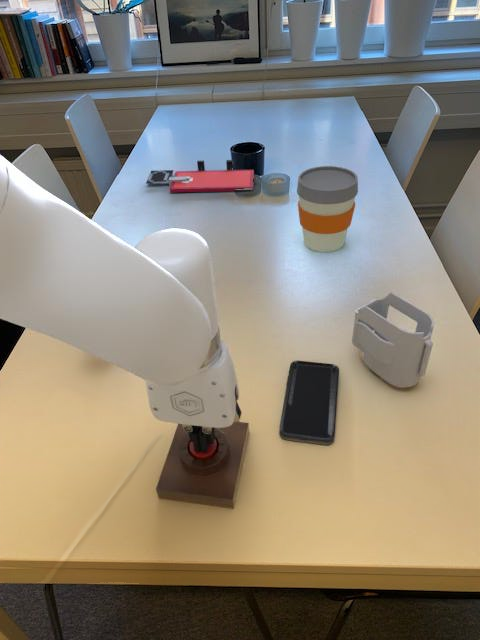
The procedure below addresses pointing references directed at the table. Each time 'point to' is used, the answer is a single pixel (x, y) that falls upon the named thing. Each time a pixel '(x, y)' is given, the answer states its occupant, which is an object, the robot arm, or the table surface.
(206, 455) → the button
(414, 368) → the cable organizer
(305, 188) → the reusable coffee cup
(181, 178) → the red board with handle
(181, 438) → the button block
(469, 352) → the table surface
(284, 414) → the phone
